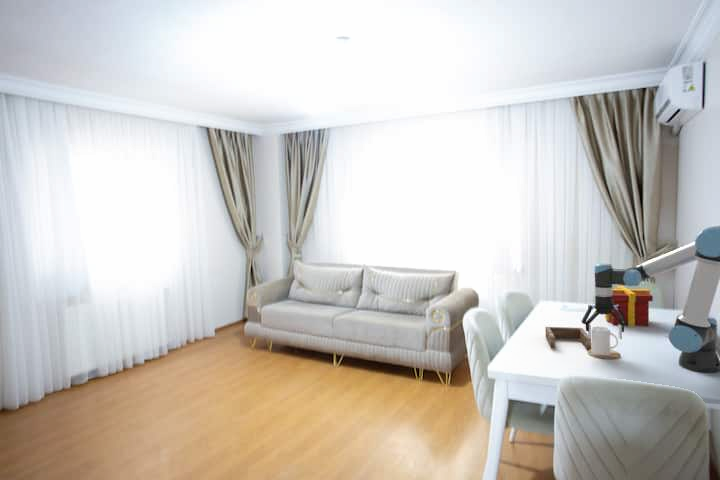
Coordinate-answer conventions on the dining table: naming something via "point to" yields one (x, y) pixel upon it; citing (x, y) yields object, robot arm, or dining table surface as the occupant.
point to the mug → (601, 341)
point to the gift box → (631, 306)
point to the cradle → (567, 335)
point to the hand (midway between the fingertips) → (604, 338)
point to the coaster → (611, 356)
